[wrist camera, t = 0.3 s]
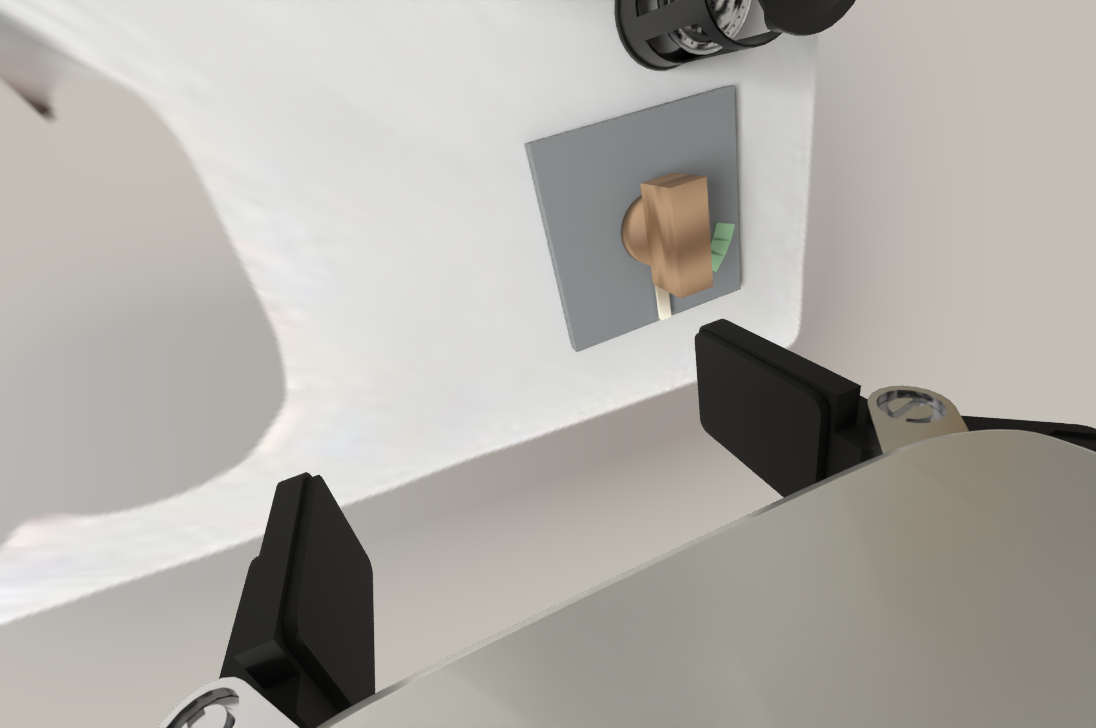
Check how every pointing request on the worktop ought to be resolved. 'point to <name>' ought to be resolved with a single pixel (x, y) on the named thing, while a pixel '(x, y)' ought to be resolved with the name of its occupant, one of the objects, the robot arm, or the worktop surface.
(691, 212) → the knob
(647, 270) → the dial plate
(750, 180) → the worktop surface
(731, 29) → the french press
